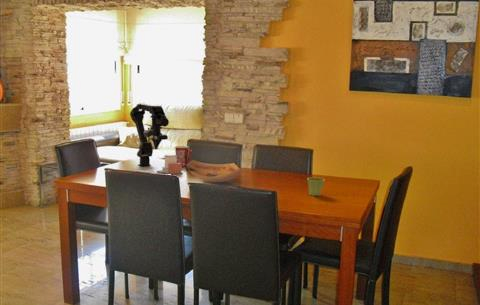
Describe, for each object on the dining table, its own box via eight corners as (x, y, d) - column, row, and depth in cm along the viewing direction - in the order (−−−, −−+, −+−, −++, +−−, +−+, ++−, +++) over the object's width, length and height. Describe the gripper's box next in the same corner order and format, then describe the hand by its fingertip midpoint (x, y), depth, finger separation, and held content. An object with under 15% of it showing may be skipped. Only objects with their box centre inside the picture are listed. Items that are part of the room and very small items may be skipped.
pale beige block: (164, 171, 306) (164, 155, 304) (172, 170, 310) (173, 154, 308) (168, 172, 303) (168, 156, 301) (176, 171, 307) (176, 155, 305)
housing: (157, 172, 309) (157, 161, 308) (170, 170, 315) (170, 159, 314) (169, 175, 299) (169, 164, 298) (182, 174, 305) (182, 163, 304)
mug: (172, 166, 329) (172, 146, 327) (179, 164, 337) (179, 145, 335) (188, 168, 324) (188, 148, 322) (195, 166, 332) (195, 147, 330)
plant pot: (311, 192, 270) (312, 176, 268) (327, 195, 264) (328, 179, 263) (302, 194, 263) (303, 178, 261) (318, 197, 257) (319, 181, 255)
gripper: (137, 124, 316) (137, 148, 319) (153, 127, 303) (152, 152, 305) (152, 123, 324) (152, 147, 326) (168, 126, 310) (168, 150, 312)
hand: (156, 149), depth 317 cm, fingers closed
